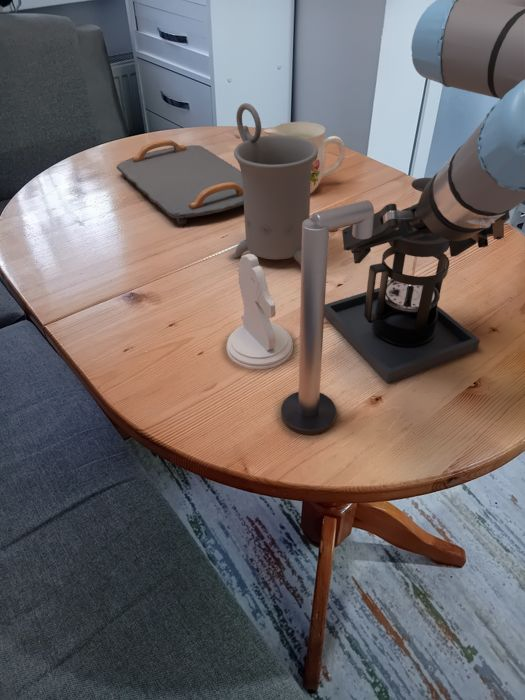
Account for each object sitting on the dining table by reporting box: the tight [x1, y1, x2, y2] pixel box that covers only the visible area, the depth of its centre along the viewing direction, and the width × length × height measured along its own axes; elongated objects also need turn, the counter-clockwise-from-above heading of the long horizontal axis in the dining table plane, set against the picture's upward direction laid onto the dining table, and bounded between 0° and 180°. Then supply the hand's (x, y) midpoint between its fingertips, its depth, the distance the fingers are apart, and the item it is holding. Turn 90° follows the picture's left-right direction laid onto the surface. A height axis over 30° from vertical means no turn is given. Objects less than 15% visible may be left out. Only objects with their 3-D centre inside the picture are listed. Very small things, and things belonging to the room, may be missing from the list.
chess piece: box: [226, 253, 294, 371], centre depth 75 cm, size 10×10×15 cm
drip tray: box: [324, 287, 481, 385], centre depth 81 cm, size 16×18×2 cm
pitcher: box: [262, 121, 346, 194], centre depth 117 cm, size 11×18×14 cm, turn 102°
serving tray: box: [115, 139, 244, 227], centre depth 121 cm, size 39×23×6 cm, turn 32°
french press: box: [364, 177, 451, 348], centre depth 74 cm, size 12×9×23 cm
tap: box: [280, 199, 375, 436], centre depth 60 cm, size 10×7×28 cm
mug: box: [231, 102, 318, 267], centre depth 92 cm, size 19×15×25 cm
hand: (404, 250), depth 75 cm, fingers open, 13 cm apart
